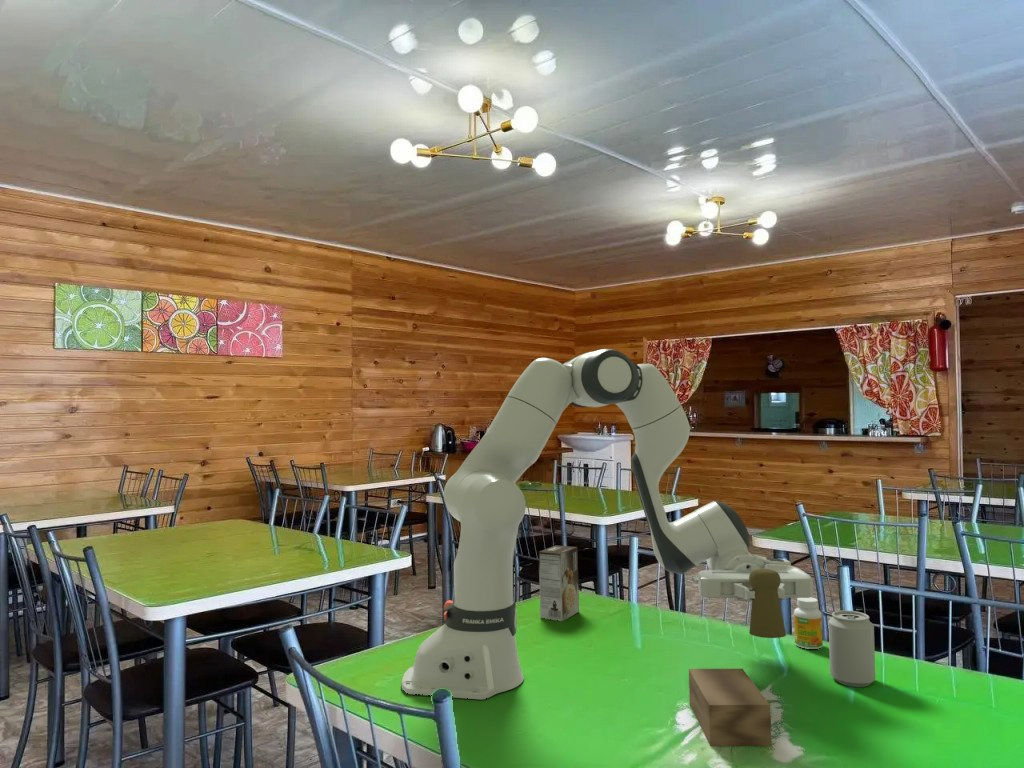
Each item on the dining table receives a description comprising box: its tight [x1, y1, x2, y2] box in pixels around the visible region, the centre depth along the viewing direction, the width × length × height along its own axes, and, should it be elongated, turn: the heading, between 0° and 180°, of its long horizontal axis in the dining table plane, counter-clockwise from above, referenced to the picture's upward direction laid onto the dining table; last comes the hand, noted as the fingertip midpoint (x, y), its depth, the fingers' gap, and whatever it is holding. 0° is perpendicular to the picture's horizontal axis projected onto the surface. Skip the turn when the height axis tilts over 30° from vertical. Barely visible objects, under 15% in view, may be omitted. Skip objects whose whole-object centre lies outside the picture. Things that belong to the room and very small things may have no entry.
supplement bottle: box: [793, 596, 824, 650], centre depth 152 cm, size 5×5×10 cm
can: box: [828, 610, 876, 688], centre depth 133 cm, size 8×8×12 cm
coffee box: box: [538, 545, 580, 622], centre depth 178 cm, size 9×6×16 cm
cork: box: [749, 569, 787, 639], centre depth 128 cm, size 6×6×11 cm
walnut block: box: [688, 668, 772, 747], centre depth 116 cm, size 9×15×6 cm, turn 178°
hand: (766, 595), depth 127 cm, fingers closed on cork, 4 cm apart
